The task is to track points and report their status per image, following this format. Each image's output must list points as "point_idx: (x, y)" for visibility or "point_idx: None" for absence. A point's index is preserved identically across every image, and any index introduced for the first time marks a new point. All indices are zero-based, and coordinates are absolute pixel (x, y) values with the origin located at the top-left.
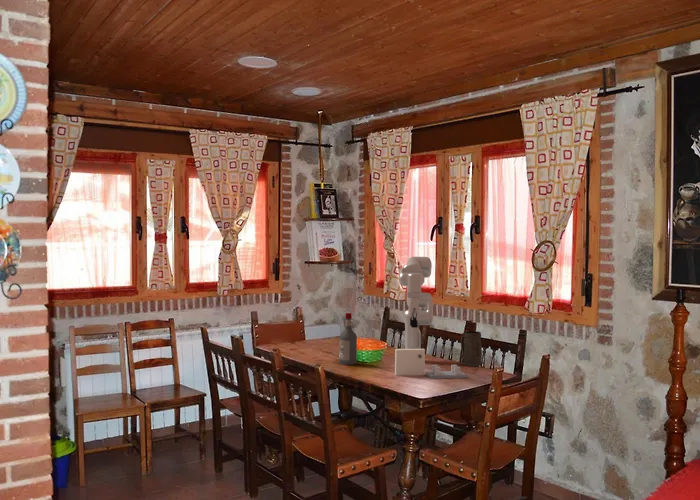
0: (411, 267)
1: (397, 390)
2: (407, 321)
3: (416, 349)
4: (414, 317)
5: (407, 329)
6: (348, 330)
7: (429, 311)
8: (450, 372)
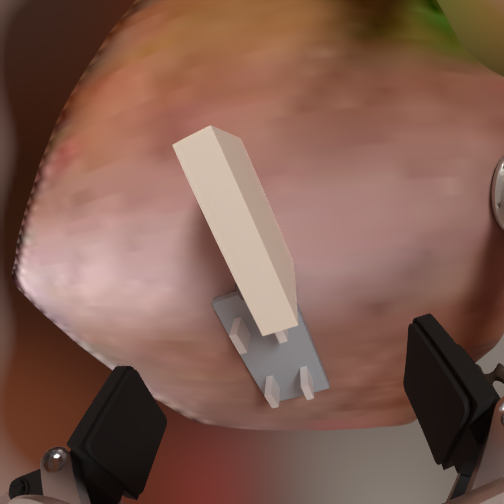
0: None
1: (35, 214)
2: None
3: (251, 284)
4: (31, 488)
5: None
6: None
7: None
8: (297, 364)
